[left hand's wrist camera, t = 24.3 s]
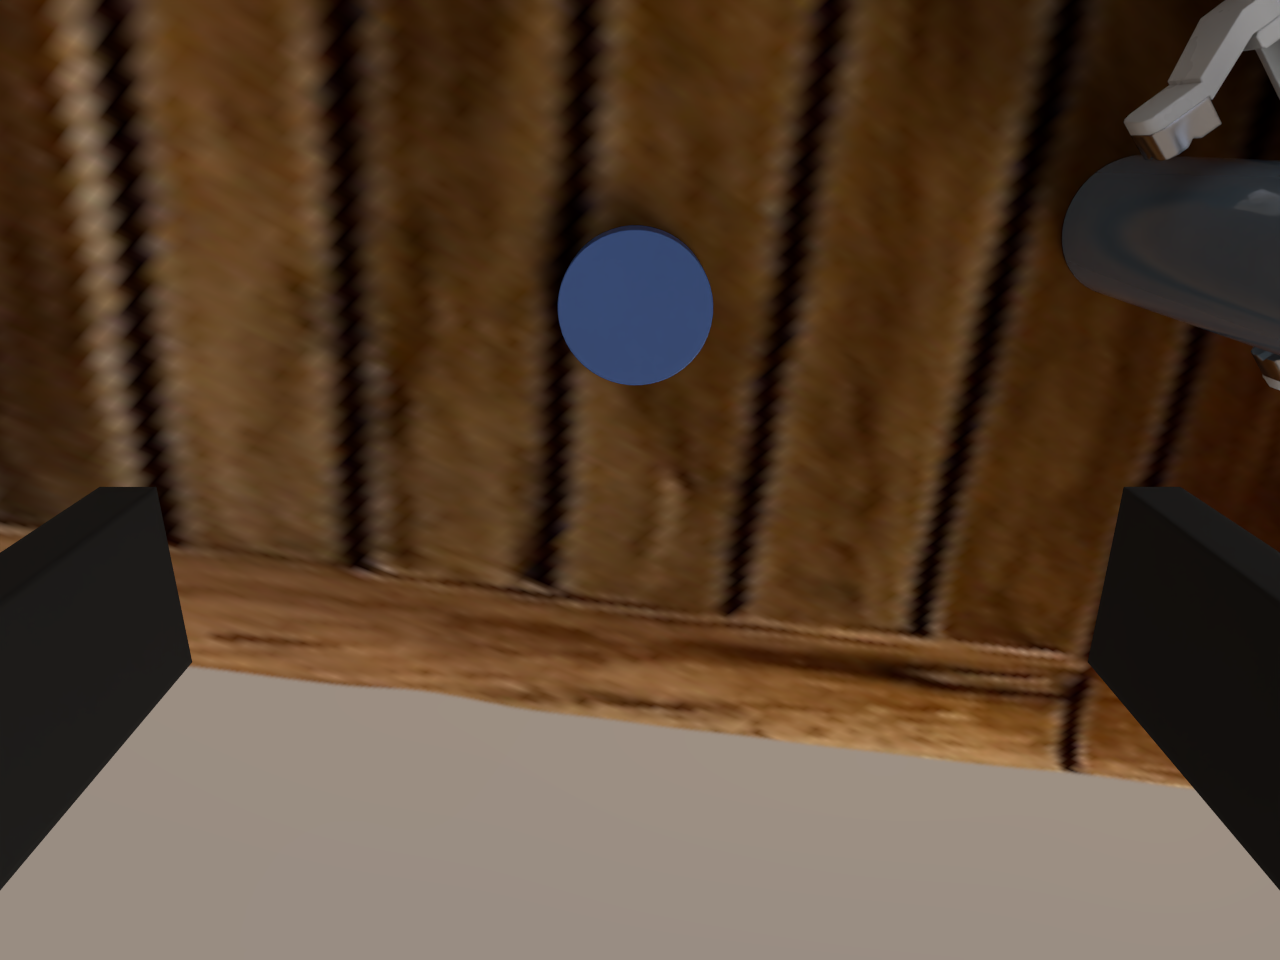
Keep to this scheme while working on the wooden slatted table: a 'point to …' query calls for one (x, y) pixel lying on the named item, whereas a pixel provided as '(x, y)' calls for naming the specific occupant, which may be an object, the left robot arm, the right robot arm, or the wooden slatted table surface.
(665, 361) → the lid
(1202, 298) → the jar
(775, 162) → the wooden slatted table surface
